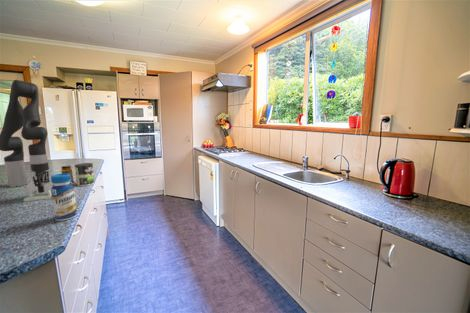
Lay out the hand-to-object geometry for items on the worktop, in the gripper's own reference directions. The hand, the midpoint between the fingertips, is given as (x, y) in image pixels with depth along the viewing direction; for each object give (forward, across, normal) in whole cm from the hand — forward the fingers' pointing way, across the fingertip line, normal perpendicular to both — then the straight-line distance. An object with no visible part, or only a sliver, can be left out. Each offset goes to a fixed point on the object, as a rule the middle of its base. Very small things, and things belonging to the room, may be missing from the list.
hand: (43, 190), depth 124 cm
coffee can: (+4, +21, -16) cm, 27 cm away
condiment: (+4, +31, -4) cm, 31 cm away
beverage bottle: (+4, -38, -21) cm, 43 cm away
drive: (+1, 0, 0) cm, 1 cm away
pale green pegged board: (+4, 0, 0) cm, 4 cm away
